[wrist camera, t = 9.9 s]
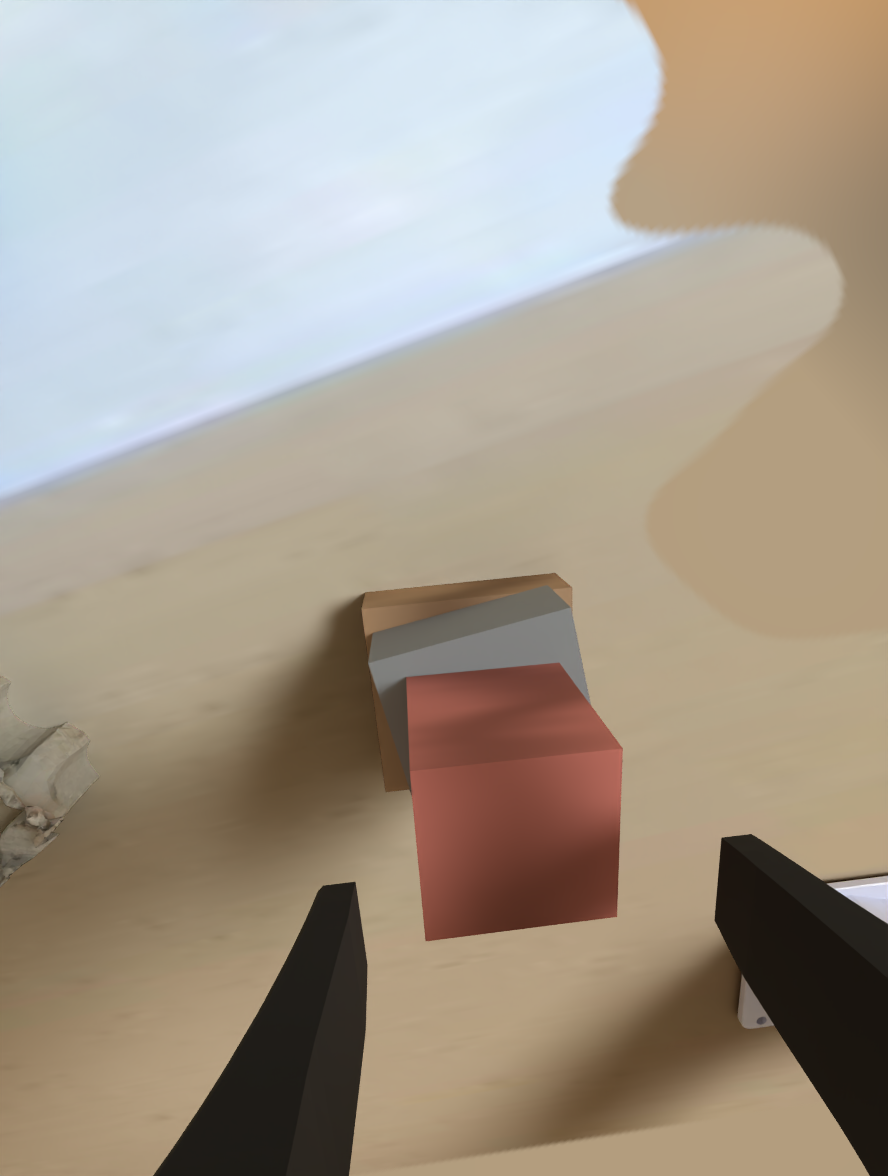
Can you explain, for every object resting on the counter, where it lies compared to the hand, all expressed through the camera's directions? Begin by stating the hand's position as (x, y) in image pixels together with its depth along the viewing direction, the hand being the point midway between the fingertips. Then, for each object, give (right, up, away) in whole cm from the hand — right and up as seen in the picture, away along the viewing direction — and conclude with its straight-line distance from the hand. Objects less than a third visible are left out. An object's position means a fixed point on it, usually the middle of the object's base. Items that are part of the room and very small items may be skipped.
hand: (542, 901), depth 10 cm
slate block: (-1, +3, +8) cm, 8 cm away
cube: (-1, +1, +6) cm, 6 cm away
